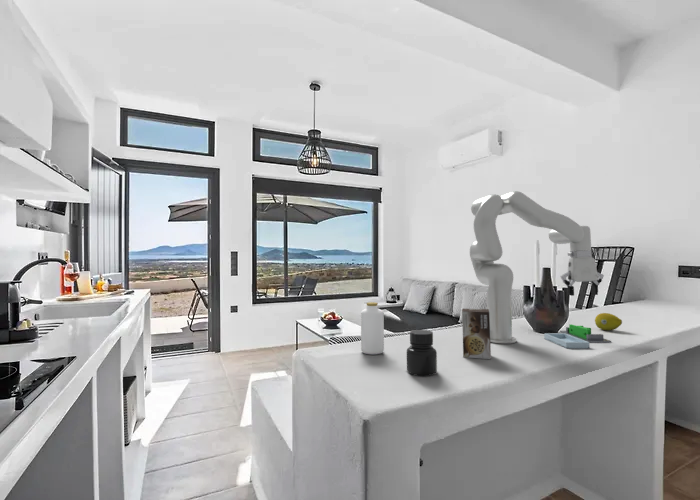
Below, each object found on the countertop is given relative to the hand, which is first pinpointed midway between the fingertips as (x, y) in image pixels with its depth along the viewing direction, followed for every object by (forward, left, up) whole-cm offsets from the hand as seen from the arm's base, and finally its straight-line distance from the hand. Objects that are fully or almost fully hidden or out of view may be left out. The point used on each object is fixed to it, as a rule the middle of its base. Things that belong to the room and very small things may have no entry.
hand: (582, 294), depth 150 cm
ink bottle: (-77, -46, -18) cm, 91 cm away
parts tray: (-14, -11, -18) cm, 25 cm away
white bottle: (-91, -24, -18) cm, 96 cm away
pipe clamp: (0, 0, -18) cm, 18 cm away
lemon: (+19, +13, -18) cm, 30 cm away
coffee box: (-55, -29, -18) cm, 65 cm away
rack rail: (0, 0, -18) cm, 18 cm away
